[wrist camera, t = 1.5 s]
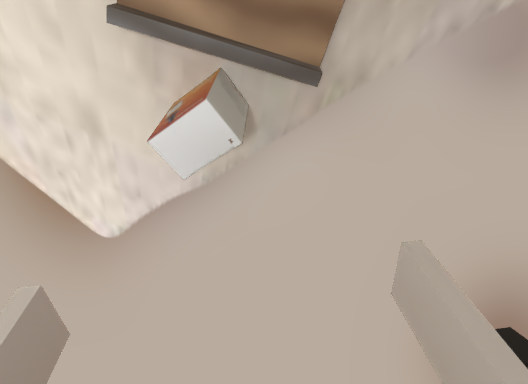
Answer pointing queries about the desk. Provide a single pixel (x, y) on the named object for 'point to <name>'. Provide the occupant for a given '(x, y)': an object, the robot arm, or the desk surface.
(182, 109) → the small box
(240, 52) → the shelf board
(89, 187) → the desk surface
